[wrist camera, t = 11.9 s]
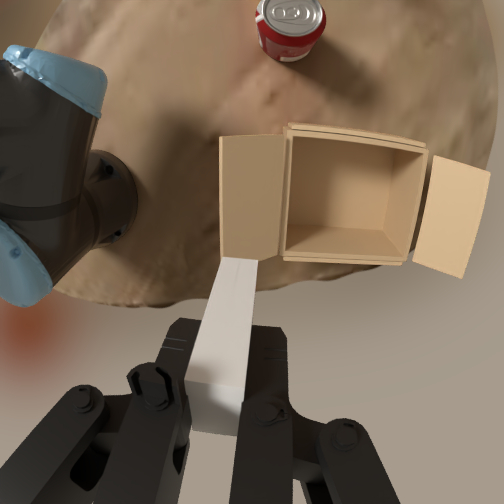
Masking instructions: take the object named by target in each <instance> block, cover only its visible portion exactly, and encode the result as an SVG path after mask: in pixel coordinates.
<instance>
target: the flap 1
mask: <svg viewBox="0 0 504 504" xmlns="http://www.w3.org/2000/svg"><path fill="white" fill-rule="evenodd" d="M283 153H284V135H281V134H279V135H240V136H221V137H219V204H220V257H221V260H222V257H230V258H241V259H252V260H258V262H259V261H261V260H264V259H267V258H270V257H273V256H276V255H277V251H278V237H279V222H280V206H281V189H282V172H283Z"/></svg>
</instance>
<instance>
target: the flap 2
mask: <svg viewBox="0 0 504 504" xmlns="http://www.w3.org/2000/svg"><path fill="white" fill-rule="evenodd" d="M490 174H491V173H490V172H488V171H485V170H482V169H479V168H476V167H473V166H470V165H467V164H463V163H460V162H457V161H453V160H450V159H446V158H443V157H439V156H435V155H434V158H433V165H432V172H431V178H430V184H429V190H428V195H427V200H426V205H425V210H424V215H423V219H422V224H421V228H420V232H419V236H418V240H417V244H416V248H415V252H414V256H413V259H412V262H415V263H418V264H421V265H424V266H427V267H430V268H432V269H435V270H438V271H441V272H444V273H446V274H449V275H452V276H455V277H457V278H460V279H462V277H463V275H464V272H465V269H466V266H467V263H468V260H469V257H470V254H471V251H472V248H473V245H474V241H475V238H476V235H477V231H478V227H479V223H480V220H481V216H482V212H483V208H484V203H485V199H486V194H487V190H488V184H489V179H490Z"/></svg>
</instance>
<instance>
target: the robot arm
mask: <svg viewBox="0 0 504 504" xmlns="http://www.w3.org/2000/svg"><path fill="white" fill-rule="evenodd" d="M3 58H4V60H0V297H1V298H3V299H4V300H6V301H7V302H9V303H11V304H13V305H16V306H19V307H28V306H32V305H34V304H36V303H37V302H38V301H39V300H41V299H42V298H43V297H44V296H45V295H47V294H49V293H50V292H51V291H52V288H53V287H54V286H55V285H56V284H57V283H58V282H59V281H60V279H61V278H62V277H63V276H64V275H65V274H66V273H67V272H68V271H69V270H70V269H71V268H72V267H73V266H74V265H75V264H76V263H77V262H78V261H79V260H80V259H81V258H82V257H83V256H85V255H86V253H88V252H89V251H90V250H93V249H96V248H100V247H103V246H107V245H110V244H112V243H114V242H115V241H117V240H118V239H120V238H121V237H122V236H123V235H124V234H125V233H126V232H127V231H128V230H129V228H130V227H131V225H132V223H133V221H134V219H135V216H136V212H137V205H138V198H137V191H136V186H135V183H134V180H133V178H132V176H131V174H130V172H129V171H128V169H127V168H126V166H125V165H124V164H123V163H122V162H121V161H120V160H119V159H118V158H116V157H115V156H114V155H112V154H110V153H108V152H105V151H102V150H91V146H92V142H93V138H94V135H95V131H96V127H97V124H98V120H99V118H100V119H101V115H102V114H101V108H102V104H103V100H104V96H105V92H106V89H107V83H108V82H107V76H106V74H105V73H104V71H103V70H102V69H100V68H98V67H96V66H94V65H91V64H88V63H85V62H82V61H79V60H76V59H73V58H69V57H66V56H62V55H59V54H55V53H51V52H47V51H43V50H38V49H33V48H28V47H24V46H19V45H11V46H10V47H8V49H7V51H6V52H5V53H4V54H3ZM257 267H258V260H252V259H241V258H230V257H222V260H221V263H220V266H219V269H218V272H217V275H216V278H215V281H214V285H213V288H212V291H211V294H210V297H209V300H208V304H207V306H206V310H205V313H204V316H203V319H202V320H195V319H187V318H179V319H178V320H176V321H175V322H174V323H173V324H172V325H171V326H170V328H169V330H168V332H167V335H166V339H164V342H163V344H162V348H161V349H160V351H159V354H158V357H157V359H156V361H155V363H151V362H148V363H144V364H140V365H138V366H136V367H135V368H133V369H131V371H130V372H129V373H128V375H127V376H126V377H127V379H128V382H129V385H130V388H131V391H132V393H131V394H126V395H108V396H107V395H106V396H103V394H102V392H101V391H100V390H98V389H97V388H96V387H93V386H91V385H79V386H75V387H73V388H71V389H70V390H69V391H68V392H66V394H65V395H64V396H63V397H62V398H61V399H60V400H59V401H58V402H57V403H56V405H55V406H54V407H53V408H52V409H51V410H50V412H48V414H47V415H46V416H45V417H44V418H43V419H42V420H41V422H40V423H39V424H38V425H37V426H36V427H35V428H34V429H33V430H32V432H31V433H30V434H29V435H28V437H26V439H25V440H24V441H23V442H22V443H21V444H20V446H19V447H18V448H17V449H16V450H15V452H14V453H13V454H12V455H11V456H10V457H9V459H8V460H7V461H6V462H5V464H4V465H3V466H2V467H1V468H0V504H92V503H93V504H177V503H178V498H179V493H180V489H181V484H182V479H183V475H184V470H185V465H186V460H187V456H188V451H189V447H190V442H189V433H190V429H191V424H192V430H194V431H200V432H207V433H214V434H222V435H230V436H237V442H236V451H235V459H234V467H233V475H232V483H231V492H230V499H229V504H292V503H293V502H292V501H293V500H292V499H293V479H296V480H299V481H300V483H301V486H302V489H303V492H304V496H305V499H306V502H307V504H400V502H399V499H398V497H397V495H396V493H395V491H394V488H393V486H392V484H391V482H390V480H389V477H388V475H387V473H386V471H385V469H384V467H383V464H382V462H381V460H380V458H379V456H378V454H377V452H376V449H375V447H374V445H373V443H372V441H371V439H370V437H369V435H368V433H367V431H366V430H365V429H364V427H363V426H362V425H361V424H359V423H358V422H356V421H355V420H351V419H347V418H342V419H335V420H332V421H330V422H328V423H327V424H324V423H320V422H317V421H313V420H310V419H307V418H305V417H303V416H301V415H299V414H298V413H297V412H296V411H295V410H294V409H293V408H292V406H291V404H290V402H289V397H288V362H287V338H286V336H285V334H284V332H283V331H282V329H281V328H280V327H270V326H257V325H252V320H253V311H254V299H255V289H256V278H257ZM93 501H94V502H93Z"/></svg>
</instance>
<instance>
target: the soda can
mask: <svg viewBox="0 0 504 504" xmlns="http://www.w3.org/2000/svg"><path fill="white" fill-rule="evenodd" d="M256 23H257V30H258V36H259V42H260V45H261V47H262V49H263V50H264V52H265V53H266V54H267V55H269V56H270V57H272V58H273V59H276V60H278V61H283V62H292V61H297V60H299V59H302V58H303V57H305V56H306V55H307V54H308V53H309V52H310V50H311V49H312V47H313V46H314V44H315V43H316V41H317V40H318V39H319V37H320V36H321V34H322V33H323V31H324V29H325V26H326V15H325V11H324V9H323V7H322V6H321V4H320V3H319V2H318V0H261V2H260V3H259V5H258V7H257V9H256Z"/></svg>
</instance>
